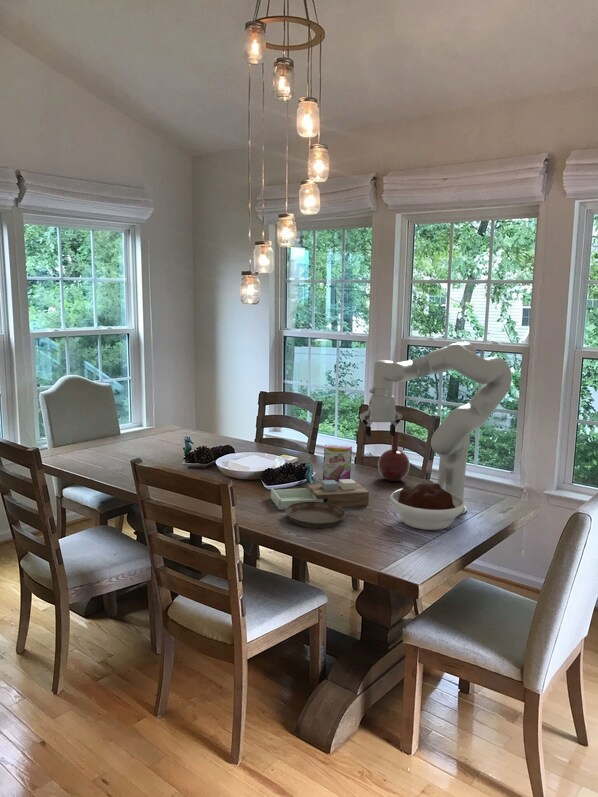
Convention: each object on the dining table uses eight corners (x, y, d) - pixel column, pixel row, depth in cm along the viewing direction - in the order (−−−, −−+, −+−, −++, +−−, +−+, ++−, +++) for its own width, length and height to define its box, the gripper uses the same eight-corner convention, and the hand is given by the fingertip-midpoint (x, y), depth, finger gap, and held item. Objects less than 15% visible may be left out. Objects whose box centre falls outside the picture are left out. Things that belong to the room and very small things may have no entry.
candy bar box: (322, 486, 274) (323, 447, 271) (323, 483, 279) (324, 444, 276) (350, 488, 273) (352, 448, 270) (350, 484, 278) (352, 445, 275)
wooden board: (368, 505, 253) (368, 492, 252) (316, 508, 248) (317, 495, 247) (355, 493, 266) (355, 481, 265) (306, 496, 261) (306, 483, 260)
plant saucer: (356, 525, 232) (357, 516, 232) (304, 534, 222) (304, 525, 222) (324, 507, 250) (325, 498, 249) (275, 515, 240) (275, 506, 239)
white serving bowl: (412, 507, 252) (414, 468, 249) (475, 524, 236) (478, 482, 234) (374, 524, 233) (377, 482, 230) (440, 544, 217) (444, 499, 215)
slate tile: (338, 489, 254) (338, 483, 253) (325, 490, 252) (325, 484, 252) (333, 485, 258) (334, 479, 258) (321, 486, 257) (321, 480, 256)
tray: (323, 507, 249) (323, 496, 248) (279, 509, 244) (279, 499, 244) (312, 495, 262) (313, 485, 261) (270, 498, 257) (270, 488, 256)
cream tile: (355, 488, 255) (356, 482, 255) (343, 489, 254) (343, 483, 254) (351, 484, 260) (351, 478, 260) (338, 485, 259) (339, 479, 258)
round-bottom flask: (380, 474, 294) (383, 429, 290) (411, 478, 289) (414, 432, 286) (373, 482, 281) (376, 435, 278) (405, 486, 277) (408, 439, 274)
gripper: (364, 394, 257) (362, 438, 260) (407, 393, 260) (404, 437, 263) (358, 390, 264) (356, 433, 267) (400, 390, 268) (397, 433, 271)
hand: (380, 435), depth 265 cm, fingers open, 9 cm apart
